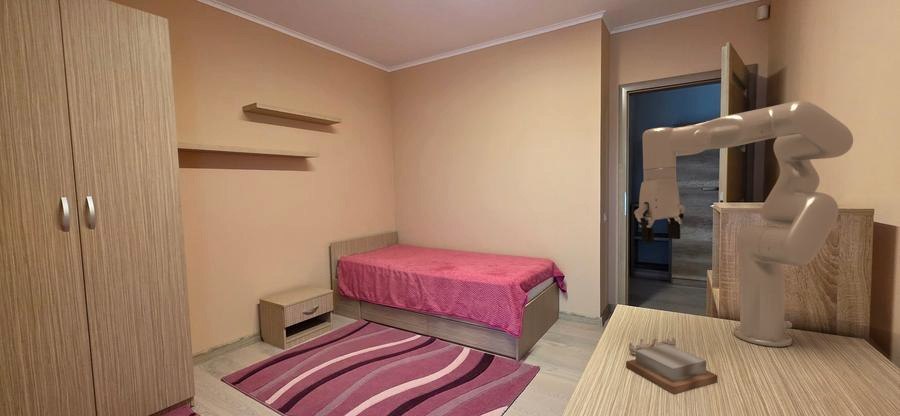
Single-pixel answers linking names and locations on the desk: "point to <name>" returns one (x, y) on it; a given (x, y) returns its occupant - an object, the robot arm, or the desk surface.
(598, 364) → the desk surface
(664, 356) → the tower pedestal
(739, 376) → the desk surface
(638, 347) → the soldier figure
